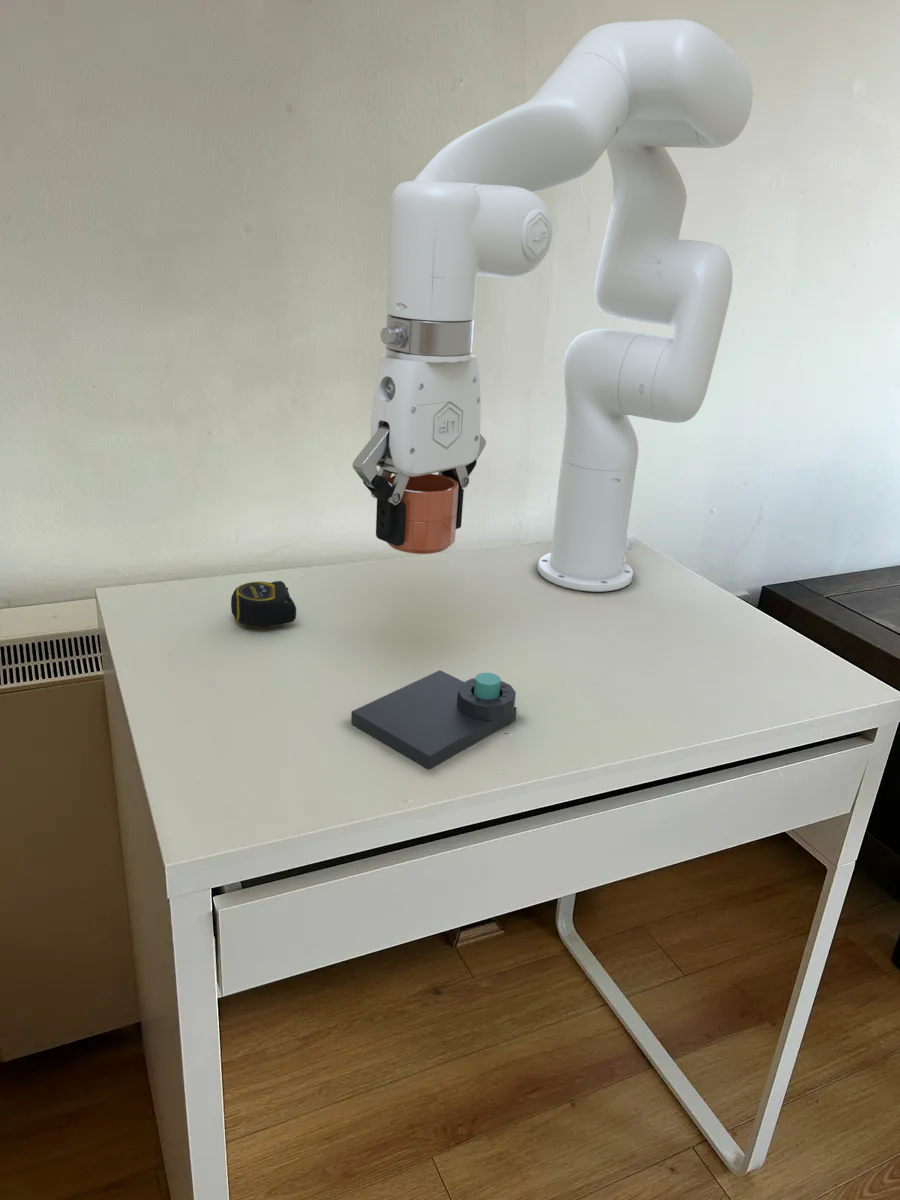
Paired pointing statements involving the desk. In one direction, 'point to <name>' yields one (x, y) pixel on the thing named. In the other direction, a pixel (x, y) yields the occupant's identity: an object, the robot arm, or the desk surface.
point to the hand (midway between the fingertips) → (419, 531)
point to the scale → (435, 717)
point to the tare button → (487, 686)
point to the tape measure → (263, 604)
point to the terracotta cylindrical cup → (429, 513)
